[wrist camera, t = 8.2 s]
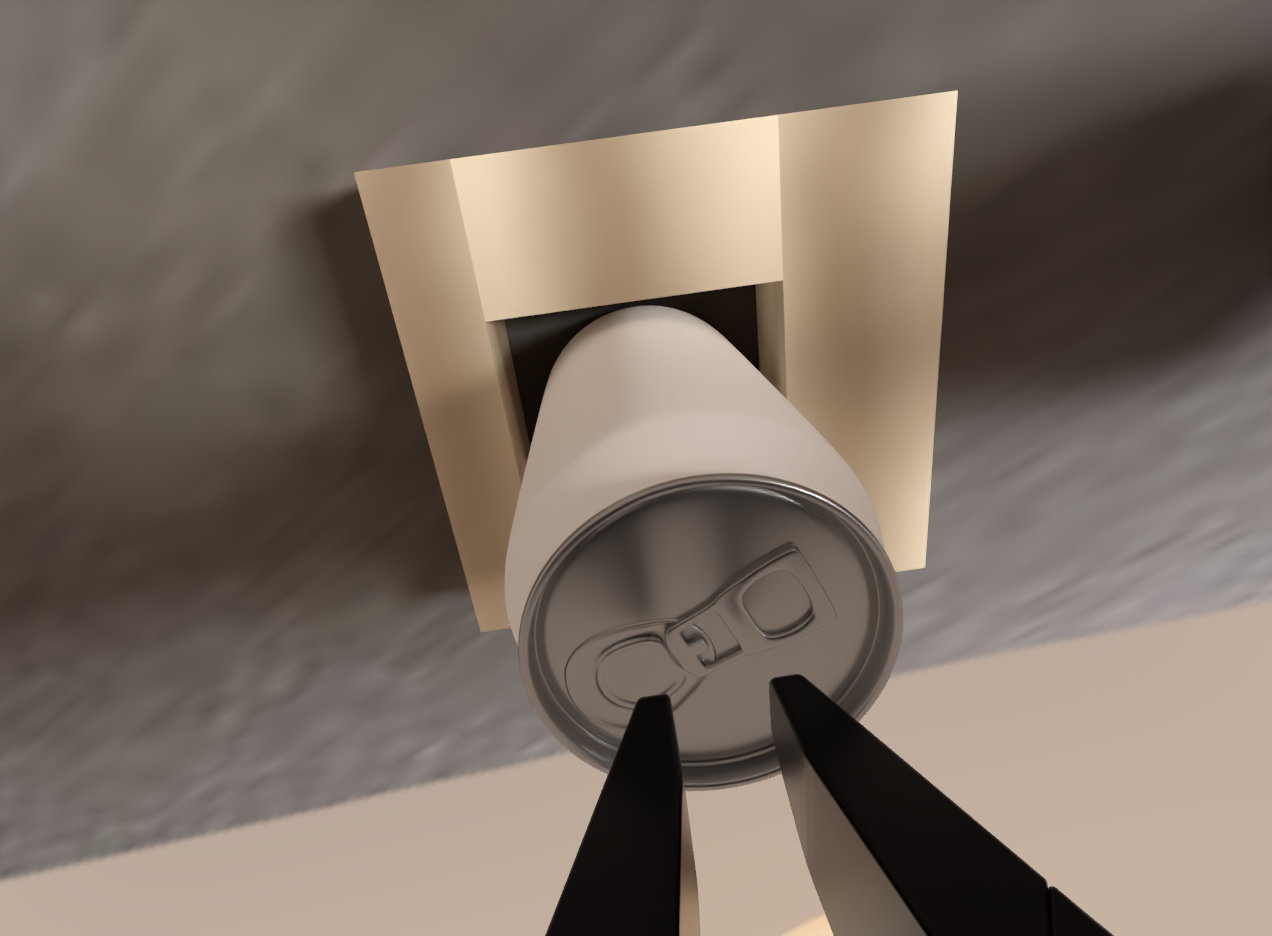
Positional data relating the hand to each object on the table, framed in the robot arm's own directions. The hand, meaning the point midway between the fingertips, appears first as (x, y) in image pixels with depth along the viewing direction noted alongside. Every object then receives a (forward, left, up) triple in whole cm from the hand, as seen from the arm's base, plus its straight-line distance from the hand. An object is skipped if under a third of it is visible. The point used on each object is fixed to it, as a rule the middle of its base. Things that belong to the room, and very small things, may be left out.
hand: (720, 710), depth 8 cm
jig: (-1, -1, -13) cm, 13 cm away
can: (0, 0, -13) cm, 13 cm away
